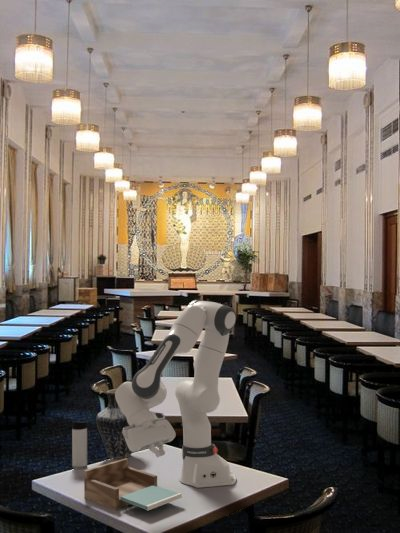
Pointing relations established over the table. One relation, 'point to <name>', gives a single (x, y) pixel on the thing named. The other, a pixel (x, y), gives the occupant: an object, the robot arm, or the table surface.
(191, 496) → the table surface
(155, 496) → the teal flat panel
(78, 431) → the travel mug
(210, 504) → the table surface
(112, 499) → the wooden drawer
